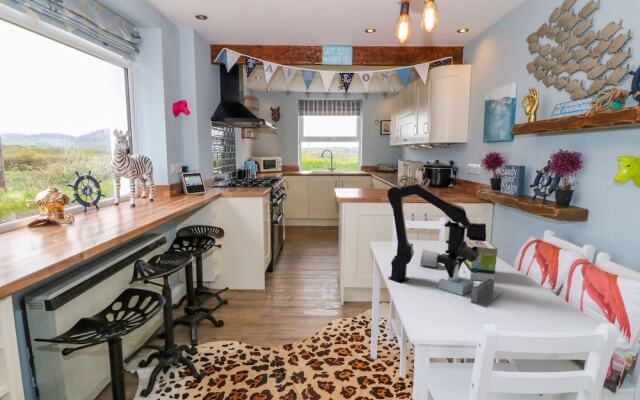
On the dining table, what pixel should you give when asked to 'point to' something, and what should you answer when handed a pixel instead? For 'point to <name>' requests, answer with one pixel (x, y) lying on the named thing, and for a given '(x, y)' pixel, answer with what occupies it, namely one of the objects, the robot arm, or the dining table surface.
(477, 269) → the tea box
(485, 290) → the stop wall
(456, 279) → the dowel
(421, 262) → the ceramic mug
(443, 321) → the dining table surface
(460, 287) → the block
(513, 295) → the dining table surface
